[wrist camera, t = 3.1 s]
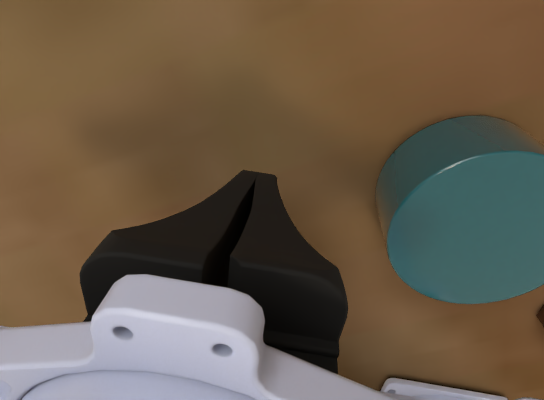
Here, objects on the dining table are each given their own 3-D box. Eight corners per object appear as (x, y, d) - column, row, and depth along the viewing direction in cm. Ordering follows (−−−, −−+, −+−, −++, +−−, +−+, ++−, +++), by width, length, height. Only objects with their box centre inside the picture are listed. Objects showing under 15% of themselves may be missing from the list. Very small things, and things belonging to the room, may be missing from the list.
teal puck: (497, 260, 18) (532, 317, 15) (358, 238, 18) (366, 289, 15) (578, 129, 14) (646, 170, 11) (401, 102, 14) (423, 135, 12)
